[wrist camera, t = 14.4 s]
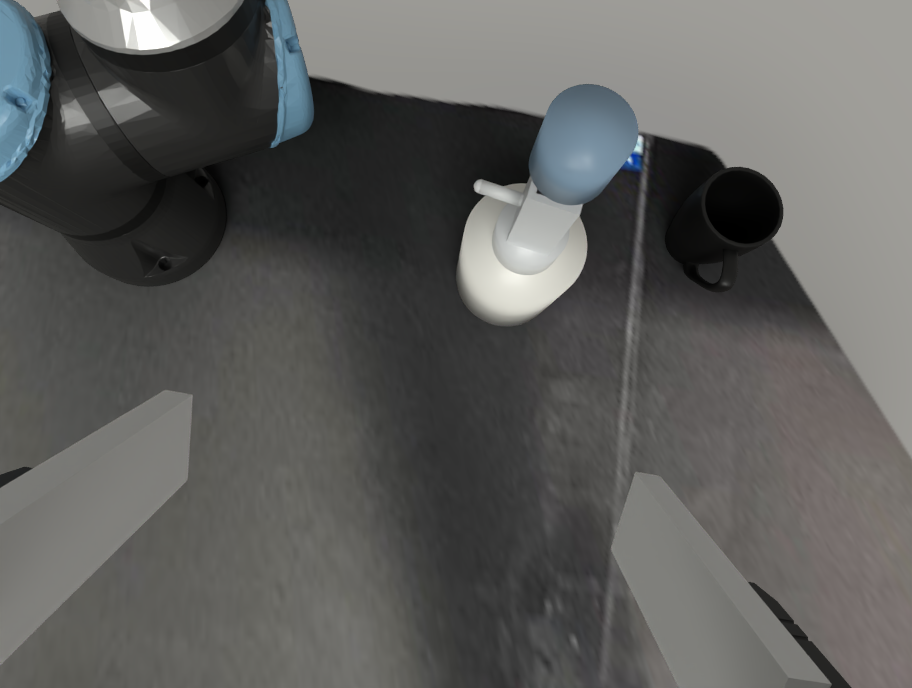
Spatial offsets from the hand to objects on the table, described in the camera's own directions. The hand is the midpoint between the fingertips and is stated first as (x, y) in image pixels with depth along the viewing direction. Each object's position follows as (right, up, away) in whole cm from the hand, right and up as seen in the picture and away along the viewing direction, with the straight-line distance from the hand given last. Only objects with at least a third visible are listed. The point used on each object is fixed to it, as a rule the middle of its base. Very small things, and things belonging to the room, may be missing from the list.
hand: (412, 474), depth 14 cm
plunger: (+8, +13, +24) cm, 28 cm away
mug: (+28, +14, +40) cm, 51 cm away
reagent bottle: (+7, +11, +39) cm, 41 cm away
